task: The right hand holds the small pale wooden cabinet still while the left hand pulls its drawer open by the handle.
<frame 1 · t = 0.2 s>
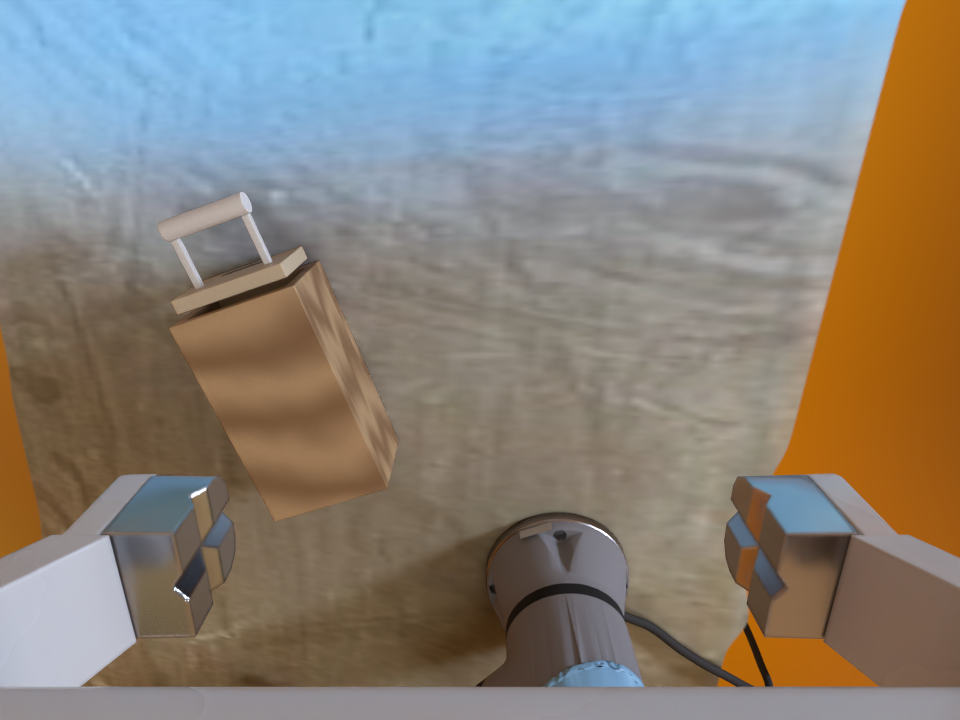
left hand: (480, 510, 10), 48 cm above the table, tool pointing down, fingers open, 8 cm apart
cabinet: (309, 372, 61), on the table
drawer: (270, 337, 56), point 4 cm above the table, slide at 0.6 cm
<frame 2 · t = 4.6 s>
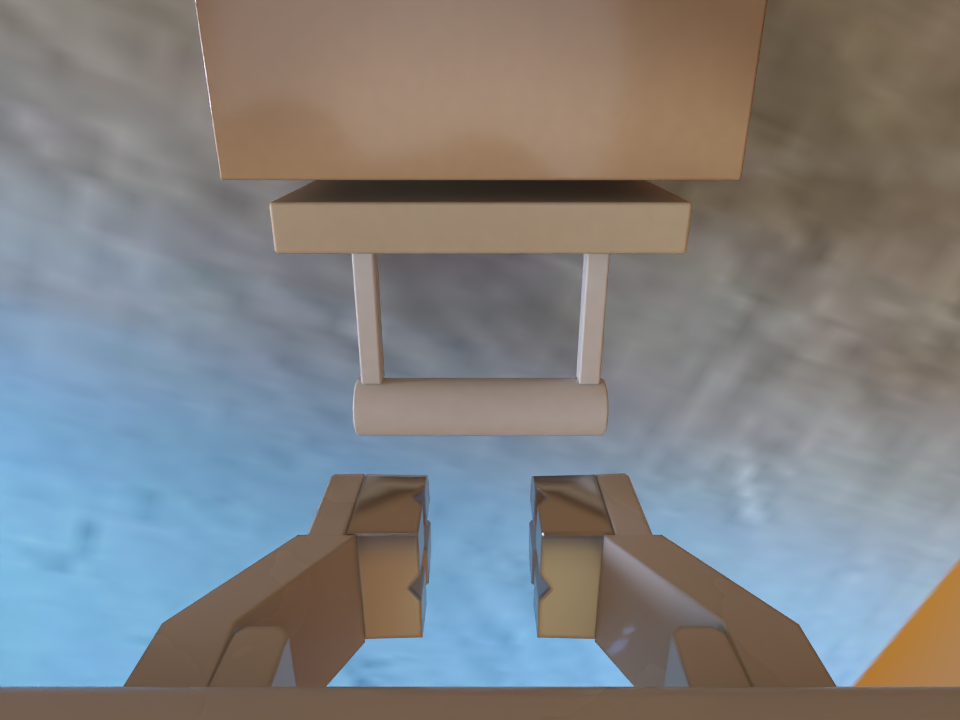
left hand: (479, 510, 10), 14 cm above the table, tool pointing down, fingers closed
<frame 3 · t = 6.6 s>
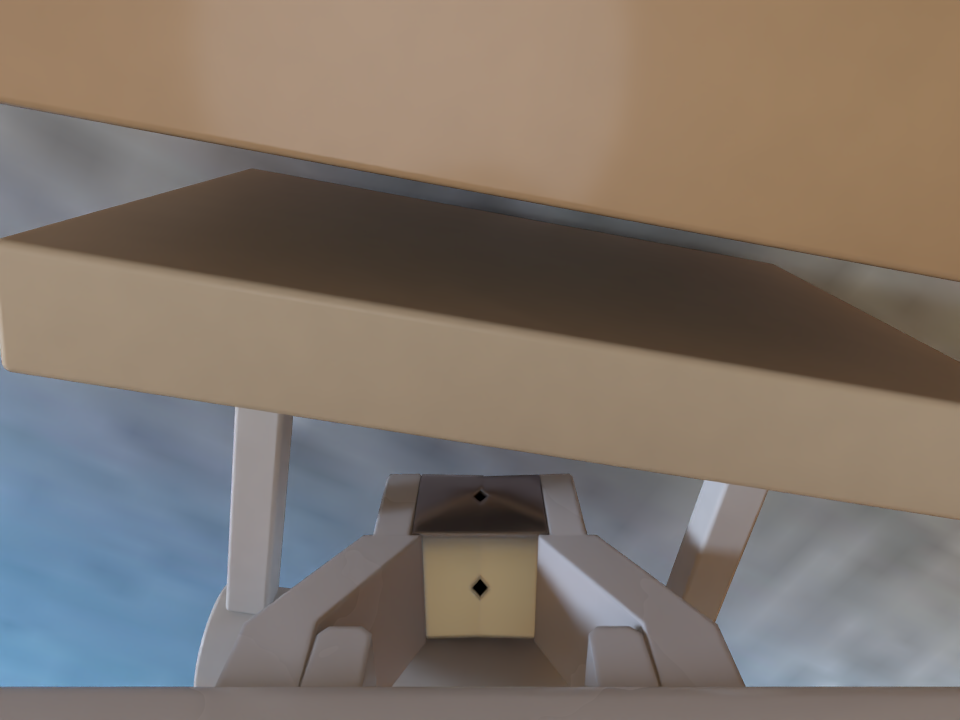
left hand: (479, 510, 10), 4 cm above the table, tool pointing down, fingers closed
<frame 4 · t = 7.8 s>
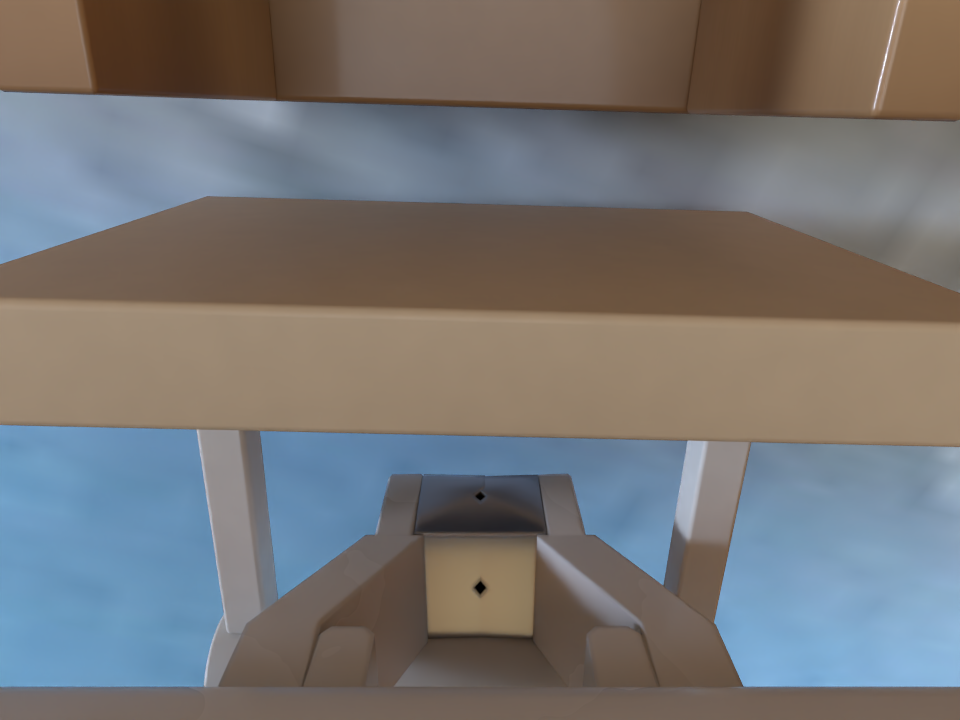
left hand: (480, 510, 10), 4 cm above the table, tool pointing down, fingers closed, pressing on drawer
when the right hand's fingers open (4 cm above the table, at t = 9.4 s): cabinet stays where it is, on the table.
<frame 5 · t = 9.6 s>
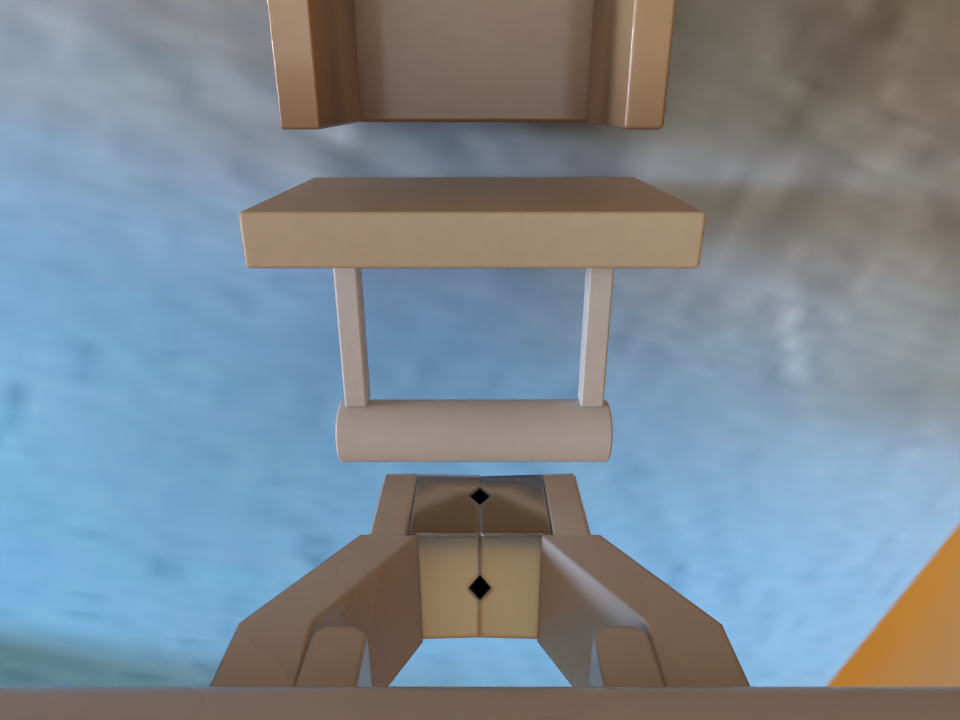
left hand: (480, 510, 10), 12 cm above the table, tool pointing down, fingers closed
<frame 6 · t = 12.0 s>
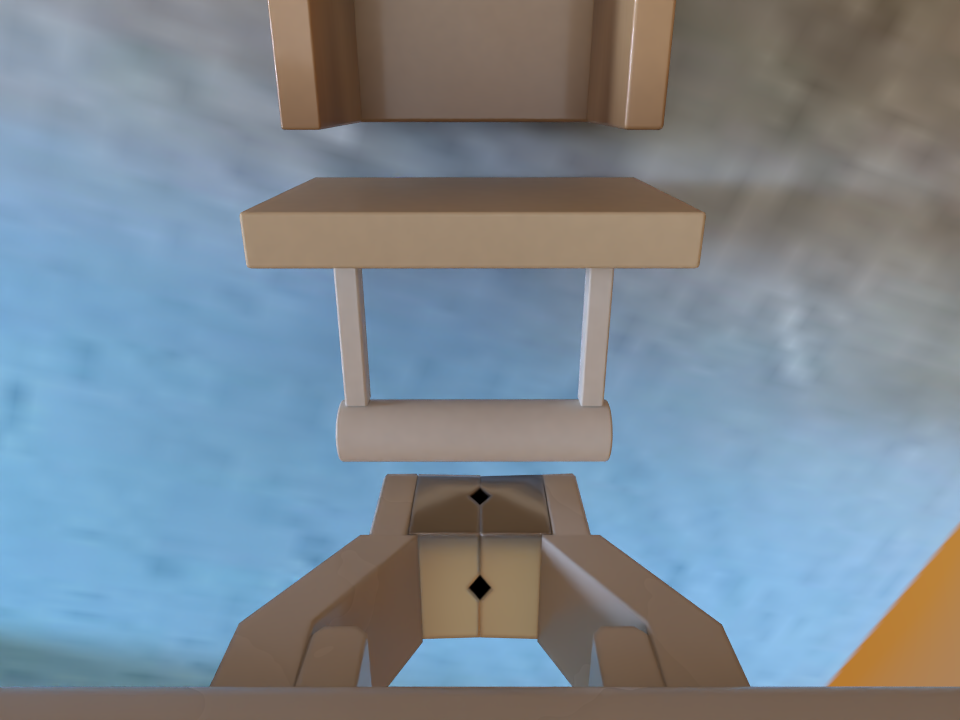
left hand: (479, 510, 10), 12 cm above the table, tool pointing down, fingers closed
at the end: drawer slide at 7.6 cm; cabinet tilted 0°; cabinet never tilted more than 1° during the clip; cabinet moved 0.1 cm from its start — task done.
